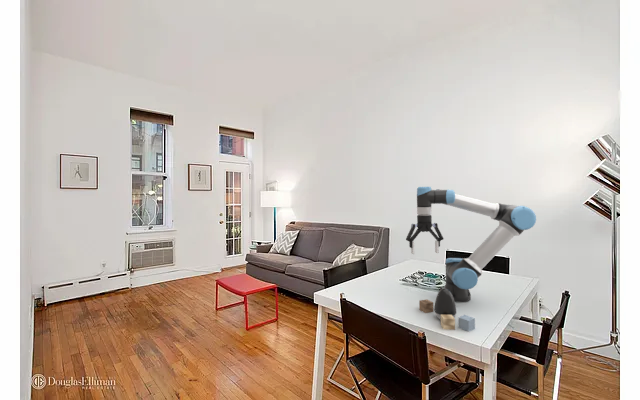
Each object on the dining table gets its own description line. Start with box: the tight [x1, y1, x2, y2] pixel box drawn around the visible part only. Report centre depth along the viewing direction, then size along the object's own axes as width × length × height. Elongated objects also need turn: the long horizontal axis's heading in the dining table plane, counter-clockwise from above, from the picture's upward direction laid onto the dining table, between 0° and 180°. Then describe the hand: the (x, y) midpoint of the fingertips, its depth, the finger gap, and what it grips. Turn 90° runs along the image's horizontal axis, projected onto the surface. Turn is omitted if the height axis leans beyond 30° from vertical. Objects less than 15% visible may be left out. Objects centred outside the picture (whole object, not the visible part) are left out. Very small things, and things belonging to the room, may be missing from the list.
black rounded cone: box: [433, 286, 457, 321], centre depth 155 cm, size 10×10×15 cm
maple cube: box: [440, 314, 456, 331], centre depth 146 cm, size 5×5×5 cm
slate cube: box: [457, 314, 476, 333], centre depth 145 cm, size 5×5×5 cm
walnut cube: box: [418, 299, 434, 314], centre depth 166 cm, size 5×5×5 cm
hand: (424, 253), depth 174 cm, fingers open, 13 cm apart
